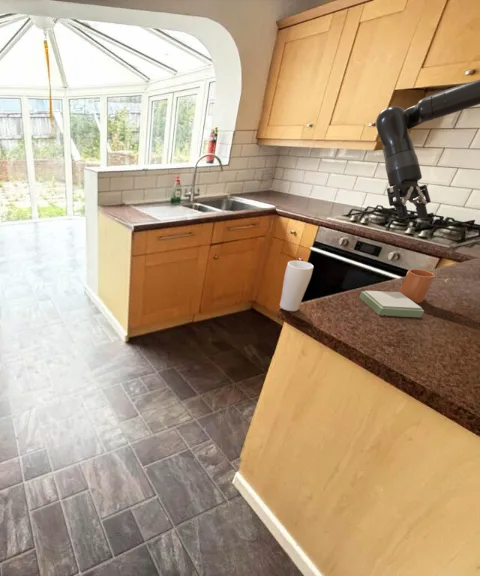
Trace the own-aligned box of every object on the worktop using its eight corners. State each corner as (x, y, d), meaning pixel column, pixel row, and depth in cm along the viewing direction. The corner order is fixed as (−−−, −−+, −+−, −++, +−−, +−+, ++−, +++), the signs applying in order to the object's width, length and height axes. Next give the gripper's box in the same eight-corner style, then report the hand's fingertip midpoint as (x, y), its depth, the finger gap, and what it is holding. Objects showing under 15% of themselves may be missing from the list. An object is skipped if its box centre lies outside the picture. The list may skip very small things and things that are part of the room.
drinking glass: (278, 300, 106) (289, 258, 99) (302, 306, 103) (315, 262, 96) (274, 309, 101) (286, 266, 94) (299, 315, 98) (312, 271, 91)
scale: (397, 299, 104) (401, 291, 103) (421, 317, 95) (426, 309, 93) (358, 297, 106) (362, 289, 105) (378, 315, 96) (382, 306, 95)
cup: (414, 294, 107) (425, 269, 103) (427, 303, 101) (440, 277, 97) (392, 293, 108) (403, 268, 104) (405, 302, 103) (417, 276, 98)
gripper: (399, 162, 97) (411, 214, 95) (432, 163, 101) (444, 213, 99) (373, 174, 104) (383, 222, 103) (404, 174, 108) (415, 221, 106)
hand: (413, 217), depth 101 cm, fingers open, 8 cm apart
